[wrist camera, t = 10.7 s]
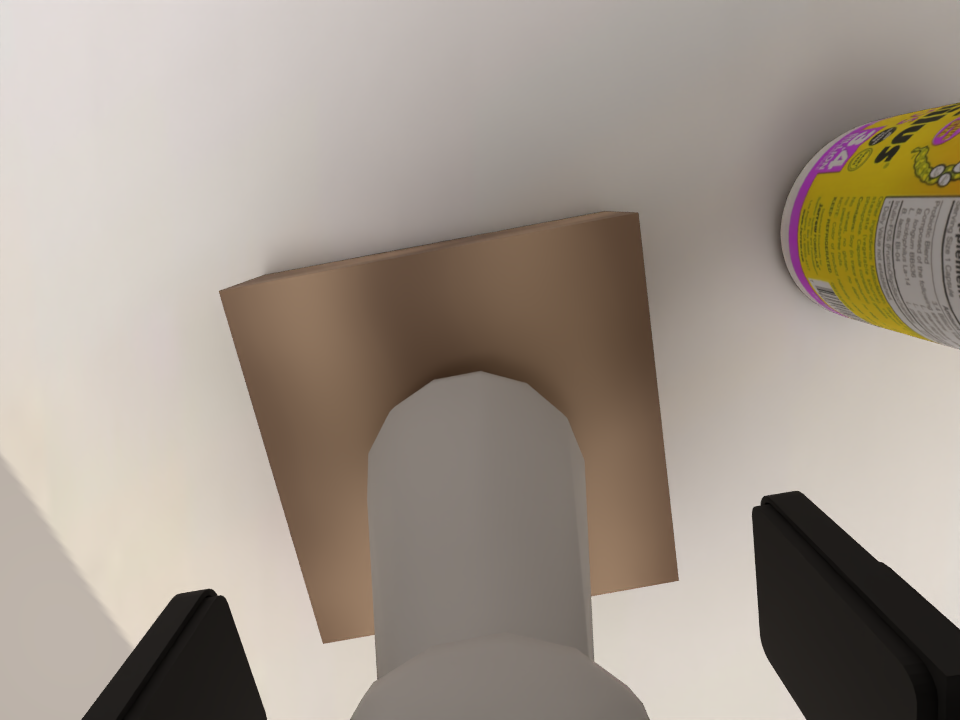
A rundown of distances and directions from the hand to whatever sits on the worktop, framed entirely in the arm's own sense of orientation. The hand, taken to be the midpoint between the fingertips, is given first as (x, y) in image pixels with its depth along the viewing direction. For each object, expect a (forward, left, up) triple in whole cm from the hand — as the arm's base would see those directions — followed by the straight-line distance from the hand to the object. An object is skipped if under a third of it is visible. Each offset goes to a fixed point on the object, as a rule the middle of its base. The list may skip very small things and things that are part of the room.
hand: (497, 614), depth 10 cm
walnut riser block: (+1, 0, -12) cm, 12 cm away
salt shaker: (0, 0, -8) cm, 8 cm away
